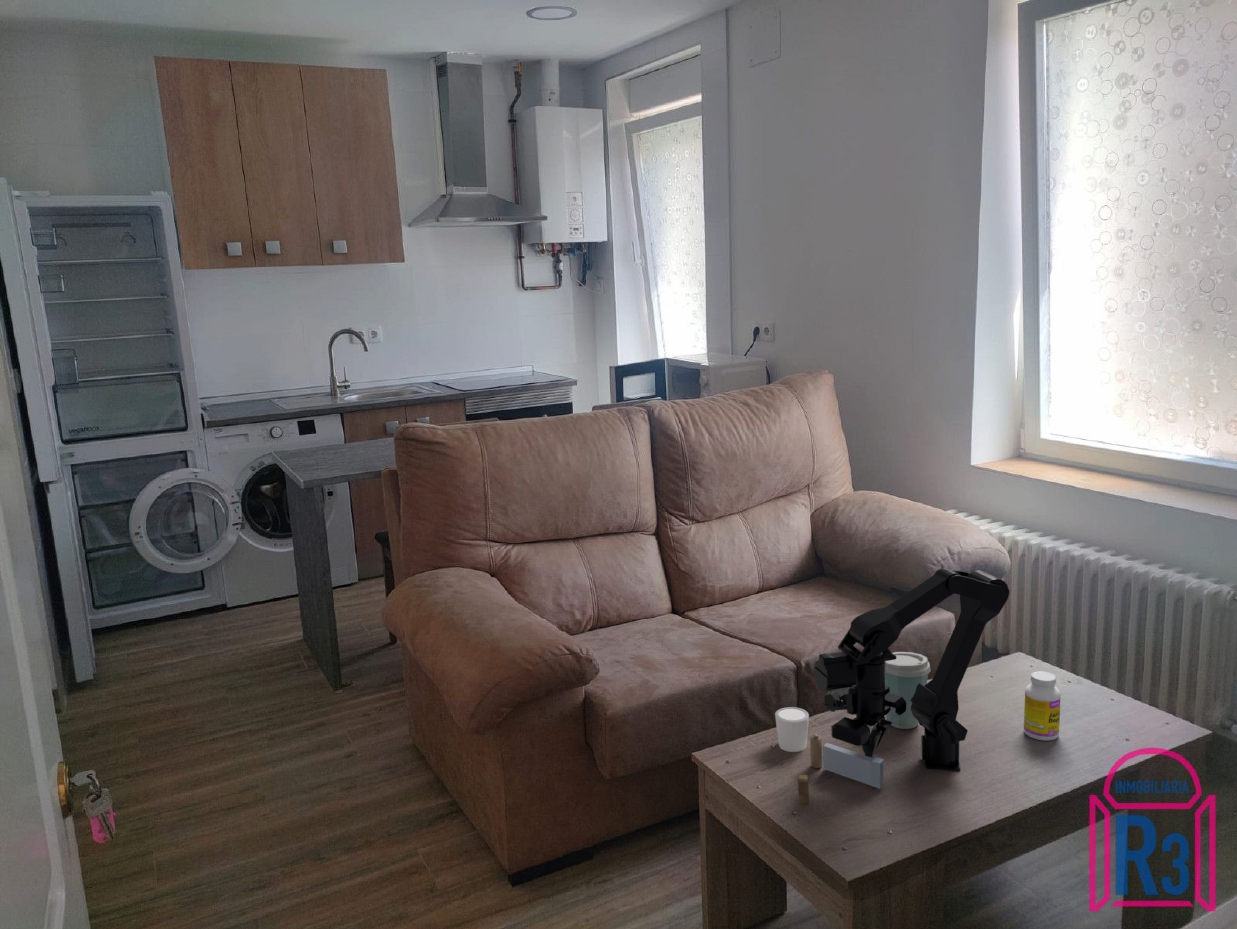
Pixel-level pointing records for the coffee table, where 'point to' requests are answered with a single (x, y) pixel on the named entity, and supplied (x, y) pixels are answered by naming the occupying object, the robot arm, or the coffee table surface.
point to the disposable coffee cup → (905, 684)
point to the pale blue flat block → (847, 762)
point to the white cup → (792, 728)
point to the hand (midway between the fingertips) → (869, 758)
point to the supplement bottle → (1042, 707)
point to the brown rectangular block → (803, 789)
